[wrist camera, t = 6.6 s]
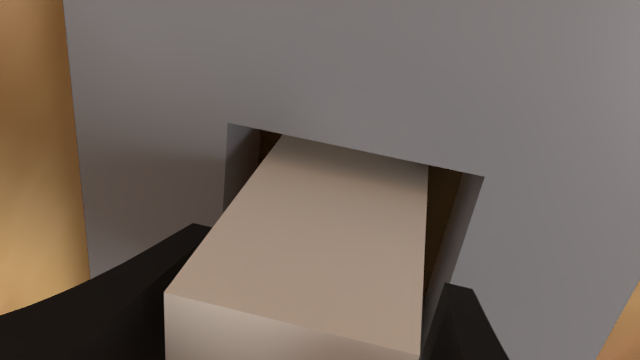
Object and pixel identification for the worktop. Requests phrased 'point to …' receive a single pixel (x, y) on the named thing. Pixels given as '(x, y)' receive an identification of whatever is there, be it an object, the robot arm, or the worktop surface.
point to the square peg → (308, 262)
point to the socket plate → (384, 133)
